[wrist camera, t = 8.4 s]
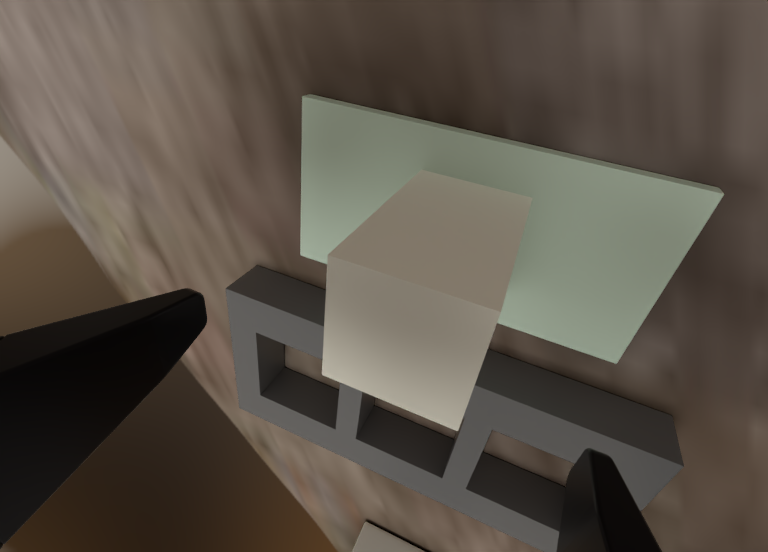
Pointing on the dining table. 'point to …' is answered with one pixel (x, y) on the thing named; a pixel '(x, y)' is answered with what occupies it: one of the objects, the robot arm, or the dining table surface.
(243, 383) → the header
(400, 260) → the plug
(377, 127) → the mat
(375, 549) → the milk carton
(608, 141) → the dining table surface
